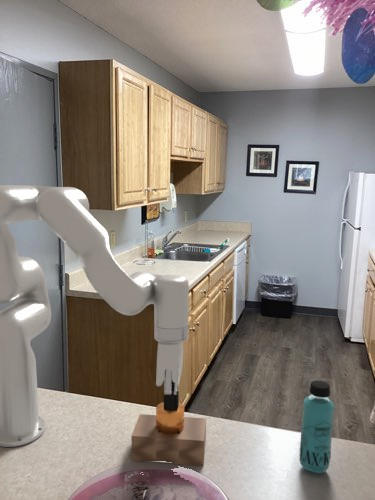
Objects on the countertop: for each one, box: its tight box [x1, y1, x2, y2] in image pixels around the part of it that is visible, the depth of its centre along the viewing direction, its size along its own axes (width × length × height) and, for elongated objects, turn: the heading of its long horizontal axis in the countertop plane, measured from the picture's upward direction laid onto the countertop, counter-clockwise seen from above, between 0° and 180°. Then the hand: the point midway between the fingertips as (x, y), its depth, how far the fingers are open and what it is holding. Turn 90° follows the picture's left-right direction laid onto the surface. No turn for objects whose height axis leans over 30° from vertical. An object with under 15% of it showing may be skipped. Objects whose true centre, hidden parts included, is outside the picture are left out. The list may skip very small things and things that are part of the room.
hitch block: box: [131, 413, 207, 467], centre depth 98 cm, size 16×9×6 cm, turn 85°
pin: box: [155, 401, 185, 435], centre depth 98 cm, size 6×6×10 cm
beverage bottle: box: [299, 380, 335, 474], centre depth 91 cm, size 6×7×20 cm
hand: (171, 408), depth 97 cm, fingers closed
